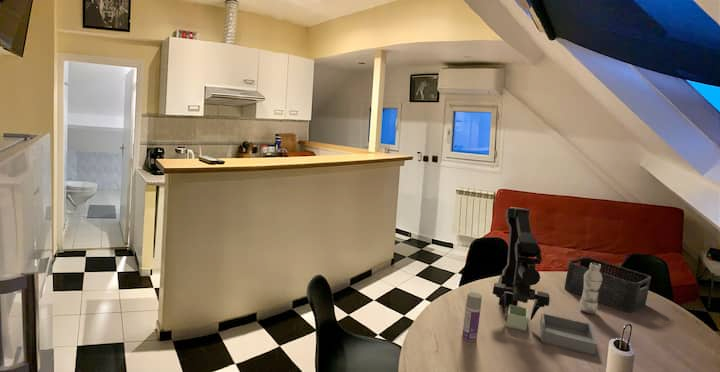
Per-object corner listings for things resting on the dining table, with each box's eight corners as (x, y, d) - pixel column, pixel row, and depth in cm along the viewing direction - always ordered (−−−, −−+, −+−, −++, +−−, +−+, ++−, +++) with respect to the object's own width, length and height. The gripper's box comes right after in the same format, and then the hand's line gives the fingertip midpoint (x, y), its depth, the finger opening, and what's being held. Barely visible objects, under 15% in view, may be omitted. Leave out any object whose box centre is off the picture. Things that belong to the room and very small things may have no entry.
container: (477, 336, 137) (482, 293, 135) (476, 343, 133) (481, 299, 131) (462, 333, 139) (468, 291, 136) (461, 339, 134) (466, 296, 132)
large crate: (540, 342, 137) (542, 331, 136) (539, 322, 151) (541, 312, 151) (595, 356, 131) (597, 344, 130) (588, 334, 145) (590, 323, 145)
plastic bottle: (599, 316, 161) (608, 268, 158) (581, 314, 162) (589, 265, 159) (593, 310, 167) (601, 262, 164) (576, 307, 169) (583, 260, 166)
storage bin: (648, 305, 178) (653, 275, 176) (630, 314, 166) (636, 283, 164) (580, 282, 200) (585, 255, 198) (561, 289, 188) (565, 261, 187)
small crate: (506, 326, 146) (508, 313, 145) (507, 316, 154) (509, 304, 153) (525, 331, 143) (527, 318, 143) (526, 321, 152) (528, 308, 151)
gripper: (494, 276, 142) (488, 318, 144) (553, 288, 135) (546, 332, 138) (496, 267, 152) (491, 306, 155) (551, 277, 146) (545, 319, 148)
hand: (517, 316), depth 148 cm, fingers open, 9 cm apart
